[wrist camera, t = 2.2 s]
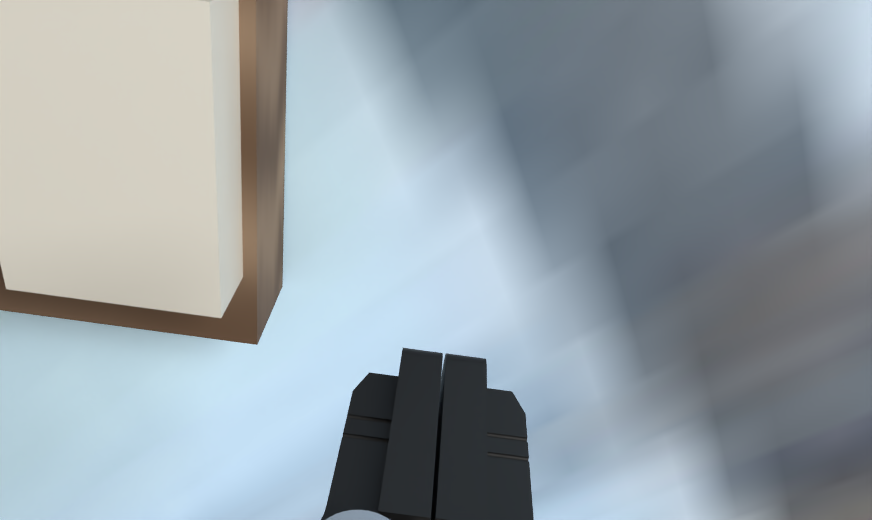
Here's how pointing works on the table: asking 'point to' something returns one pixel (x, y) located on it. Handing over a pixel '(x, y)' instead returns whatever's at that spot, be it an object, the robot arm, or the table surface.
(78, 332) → the table surface
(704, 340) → the table surface
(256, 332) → the deck
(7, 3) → the cream rectangular tile
